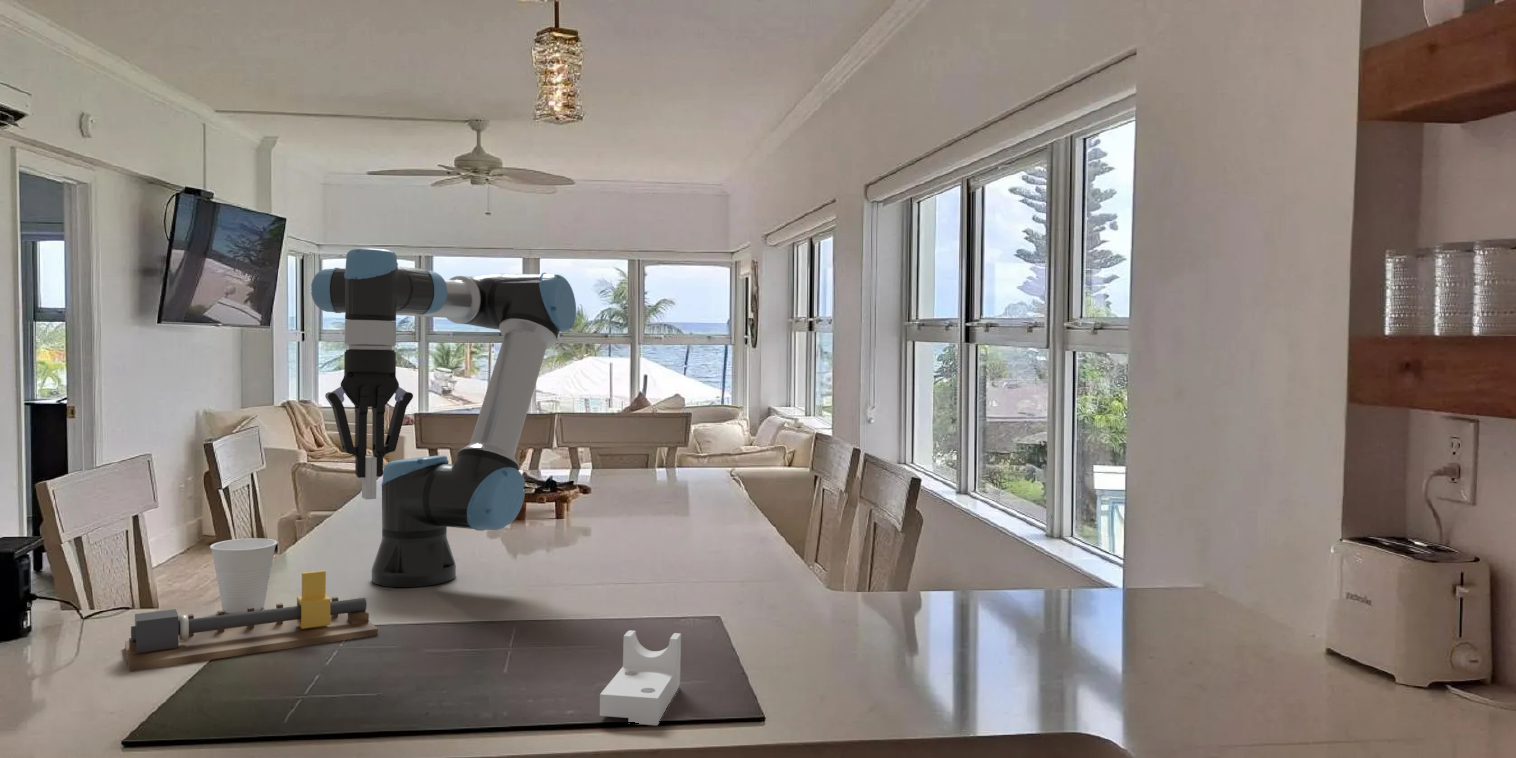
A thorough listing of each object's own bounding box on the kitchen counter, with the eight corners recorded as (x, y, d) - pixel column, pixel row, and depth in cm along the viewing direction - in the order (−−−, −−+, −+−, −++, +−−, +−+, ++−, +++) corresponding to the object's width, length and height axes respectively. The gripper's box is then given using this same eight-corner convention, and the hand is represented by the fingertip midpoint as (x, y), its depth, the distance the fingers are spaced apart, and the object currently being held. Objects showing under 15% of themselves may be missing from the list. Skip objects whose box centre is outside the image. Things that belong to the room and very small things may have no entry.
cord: (363, 608, 154) (363, 596, 154) (366, 611, 153) (366, 599, 152) (130, 639, 136) (130, 624, 136) (131, 642, 135) (131, 628, 135)
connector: (186, 637, 141) (186, 607, 141) (189, 645, 138) (189, 615, 138) (134, 644, 138) (134, 613, 138) (136, 653, 134) (136, 621, 134)
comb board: (358, 616, 159) (359, 592, 159) (377, 635, 149) (377, 609, 149) (125, 647, 140) (125, 620, 140) (129, 671, 130) (129, 641, 130)
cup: (248, 619, 156) (248, 551, 155) (194, 615, 158) (195, 547, 157) (290, 604, 165) (290, 540, 165) (239, 600, 167) (239, 536, 167)
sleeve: (324, 618, 152) (325, 567, 152) (330, 624, 149) (330, 572, 148) (296, 622, 150) (297, 570, 149) (301, 628, 146) (302, 575, 146)
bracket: (627, 686, 129) (628, 630, 129) (679, 690, 129) (681, 633, 128) (599, 723, 117) (600, 661, 116) (657, 727, 116) (658, 664, 115)
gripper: (406, 348, 159) (405, 492, 160) (320, 347, 152) (319, 497, 152) (419, 349, 153) (418, 498, 154) (330, 347, 146) (329, 504, 146)
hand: (368, 497), depth 153 cm, fingers closed
